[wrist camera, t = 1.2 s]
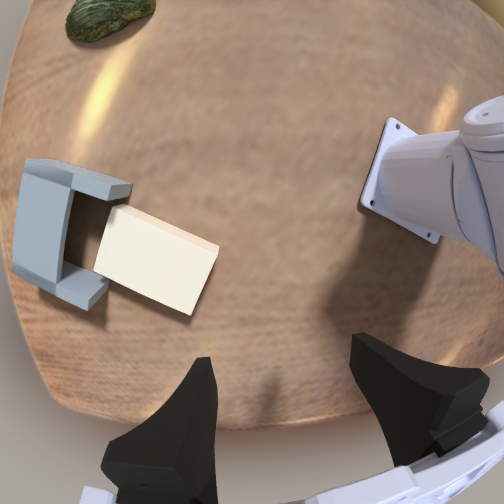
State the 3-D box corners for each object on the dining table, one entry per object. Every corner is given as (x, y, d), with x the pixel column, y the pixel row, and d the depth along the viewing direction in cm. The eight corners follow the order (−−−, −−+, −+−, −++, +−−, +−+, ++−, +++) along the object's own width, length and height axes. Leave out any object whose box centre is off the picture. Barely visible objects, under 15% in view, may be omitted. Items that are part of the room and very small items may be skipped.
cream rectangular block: (219, 245, 21) (217, 254, 18) (194, 300, 22) (190, 315, 19) (125, 203, 19) (112, 206, 17) (106, 260, 20) (93, 270, 18)
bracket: (132, 183, 18) (111, 185, 15) (107, 290, 20) (87, 311, 16) (55, 159, 17) (26, 158, 13) (38, 258, 19) (12, 272, 15)
